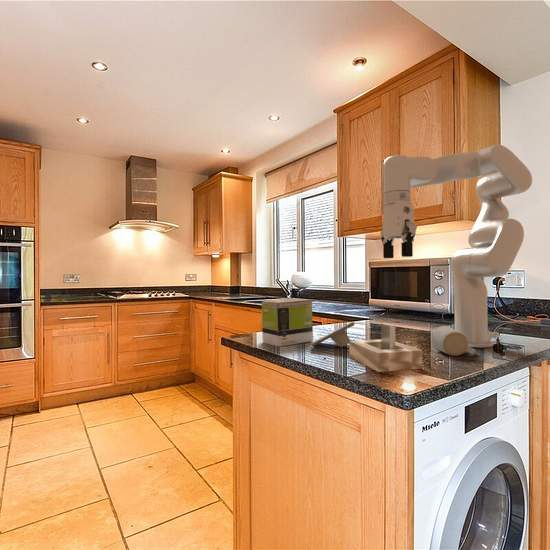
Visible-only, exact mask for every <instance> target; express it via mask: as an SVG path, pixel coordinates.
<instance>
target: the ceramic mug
mask: <svg viewBox="0 0 550 550" xmlns="http://www.w3.org/2000/svg"><path fill="white" fill-rule="evenodd" d="M431 338H432V339H431V341H432V344H433V346H434V347H435V349H437V350H439V351H440V352H442V353H445V354H447V355H449V356H452V357H458V356H459V357H460V356H461V355H463V354H464V353H465V352H466V353H468V354H470V355H475V354H476V350H477V349H475V348H474V347H469V346H468V341H467V339H466V337H465V336H464V335H463V334H462V333H461V332H459V331H457V330H455V328H453V327H451V326H449V325H442V326H439V327H437V328H436V329H435V330H434V331H433V334H432V336H431Z"/></svg>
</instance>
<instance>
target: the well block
mask: <svg viewBox="0 0 550 550" xmlns="http://www.w3.org/2000/svg"><path fill="white" fill-rule="evenodd" d="M348 346H349V348H348V349H349V351H348V353H349V355H348V356H349V358H350V359H352V360H355V361H356V362H358V363H359V364H362V365H364V366H366V367H367V368H370V369H372V370H374V371H376V372H378V373H380V372H381V373H383V372H394V371H395V372H396V371H407V370H418V369H419V370H422V369H423V350H422V349H419V348H416V347H412V346H409V345H407V344H404V343H401V342H398V341H395V349H390V350H381V338H379V339H365V340H363V339H362V340H350V341H349V343H348Z"/></svg>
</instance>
